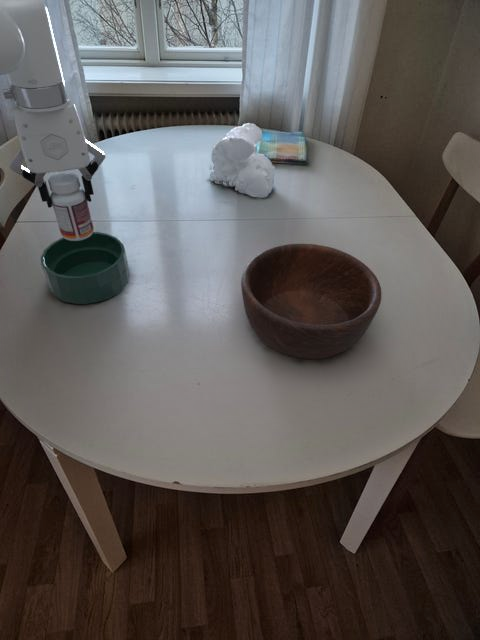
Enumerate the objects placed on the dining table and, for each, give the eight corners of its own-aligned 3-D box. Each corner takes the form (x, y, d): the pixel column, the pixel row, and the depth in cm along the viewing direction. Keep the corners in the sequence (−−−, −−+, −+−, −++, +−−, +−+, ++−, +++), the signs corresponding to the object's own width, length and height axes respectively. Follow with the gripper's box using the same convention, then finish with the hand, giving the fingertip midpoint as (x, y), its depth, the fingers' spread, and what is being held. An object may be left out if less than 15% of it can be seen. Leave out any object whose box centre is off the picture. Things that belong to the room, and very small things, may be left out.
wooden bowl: (263, 384, 72) (267, 342, 65) (225, 293, 90) (225, 251, 83) (393, 356, 78) (410, 314, 71) (334, 275, 95) (343, 235, 88)
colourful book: (304, 138, 155) (305, 131, 153) (308, 165, 137) (309, 157, 136) (257, 136, 155) (257, 128, 153) (255, 162, 138) (255, 155, 136)
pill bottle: (94, 223, 86) (81, 169, 79) (94, 240, 82) (81, 184, 74) (62, 227, 85) (46, 172, 77) (60, 243, 81) (43, 187, 73)
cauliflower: (288, 175, 111) (226, 125, 107) (245, 228, 123) (188, 185, 119) (298, 151, 125) (243, 106, 121) (258, 201, 138) (208, 161, 133)
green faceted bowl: (53, 313, 84) (43, 285, 79) (48, 266, 95) (38, 239, 90) (136, 295, 88) (131, 267, 84) (122, 253, 99) (117, 226, 94)
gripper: (-22, 107, 62) (19, 218, 74) (101, 97, 66) (120, 203, 79) (-20, 92, 67) (18, 199, 79) (95, 84, 72) (113, 185, 84)
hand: (69, 200), depth 79 cm, fingers closed on pill bottle, 6 cm apart
